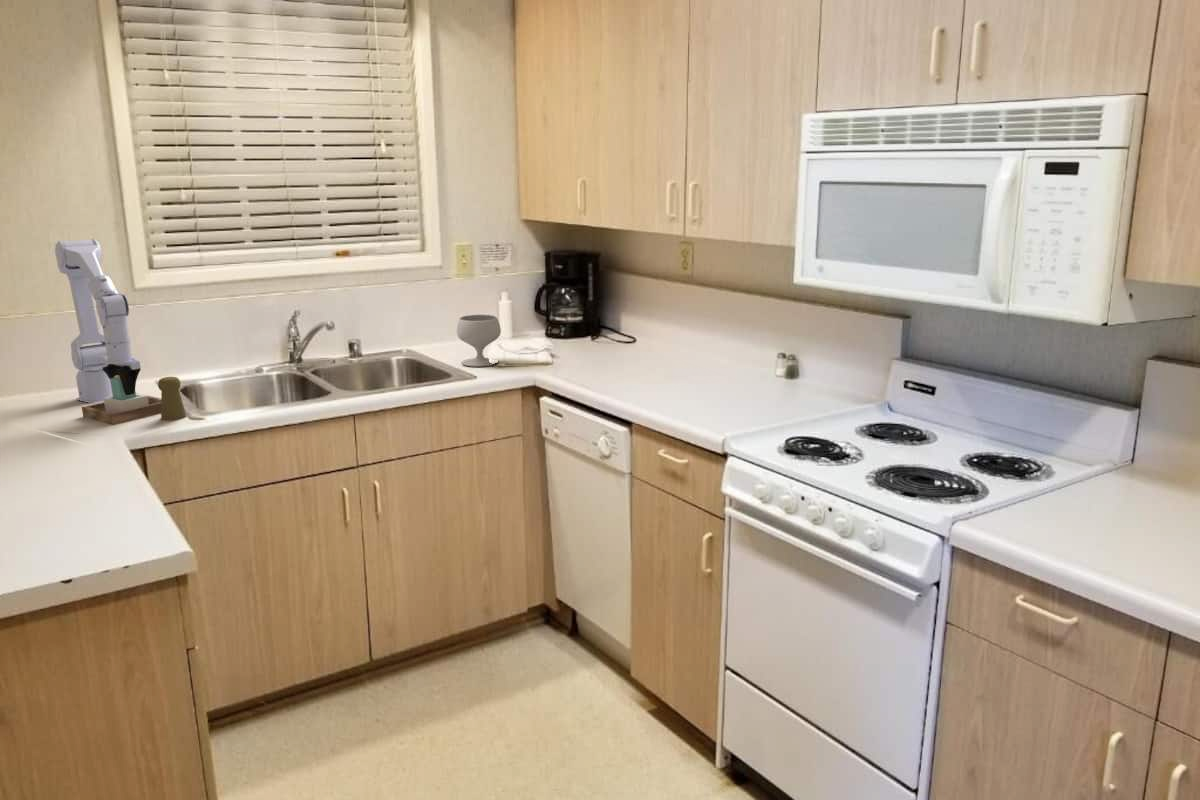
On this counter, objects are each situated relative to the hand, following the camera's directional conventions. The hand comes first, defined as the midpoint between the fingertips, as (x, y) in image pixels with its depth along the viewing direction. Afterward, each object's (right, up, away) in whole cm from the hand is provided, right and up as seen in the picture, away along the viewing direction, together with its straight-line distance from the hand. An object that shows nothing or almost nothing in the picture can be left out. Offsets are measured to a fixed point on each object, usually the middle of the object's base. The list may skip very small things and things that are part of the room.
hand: (125, 393), depth 240 cm
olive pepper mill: (+14, -7, -3) cm, 16 cm away
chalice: (+85, +10, +57) cm, 103 cm away
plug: (0, -3, 0) cm, 3 cm away
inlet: (0, -5, +1) cm, 6 cm away
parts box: (0, -6, +1) cm, 6 cm away
